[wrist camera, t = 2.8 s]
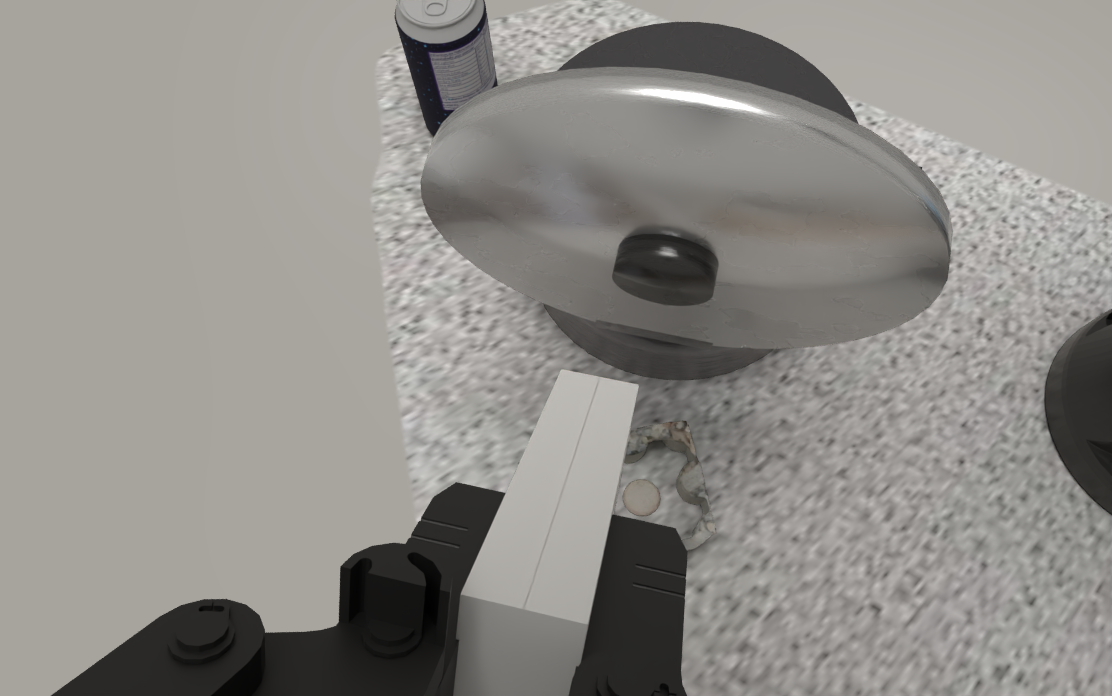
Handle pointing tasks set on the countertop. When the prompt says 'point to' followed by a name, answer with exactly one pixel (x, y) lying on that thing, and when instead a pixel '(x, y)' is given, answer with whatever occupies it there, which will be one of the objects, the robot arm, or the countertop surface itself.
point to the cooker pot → (716, 56)
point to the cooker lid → (688, 208)
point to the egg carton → (690, 482)
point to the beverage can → (446, 53)
